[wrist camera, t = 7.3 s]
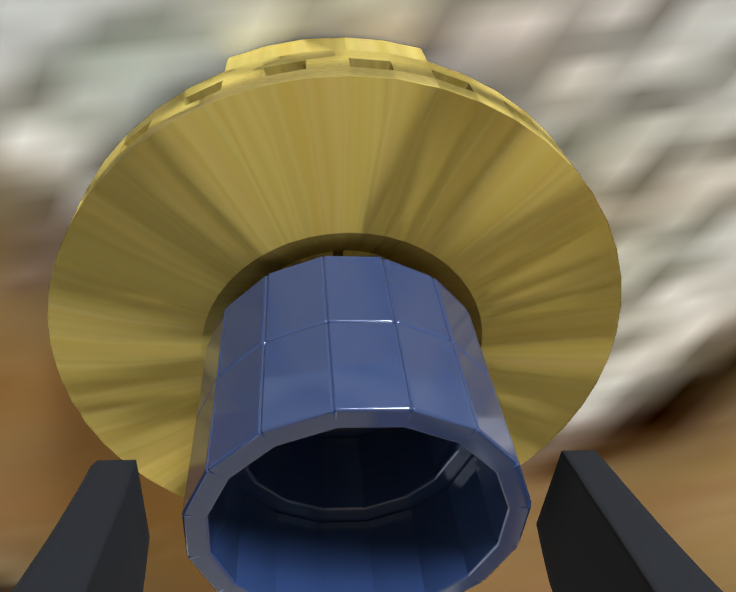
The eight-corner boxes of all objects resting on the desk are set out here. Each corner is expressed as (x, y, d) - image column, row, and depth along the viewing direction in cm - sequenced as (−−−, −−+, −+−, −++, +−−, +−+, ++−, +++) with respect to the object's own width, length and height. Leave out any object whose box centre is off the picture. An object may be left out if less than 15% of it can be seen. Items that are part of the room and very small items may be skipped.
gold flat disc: (683, 261, 17) (728, 315, 16) (359, 513, 22) (365, 577, 20) (299, -112, 12) (301, -93, 10) (-22, 327, 17) (-58, 392, 15)
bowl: (216, 444, 16) (195, 631, 13) (201, 238, 13) (168, 411, 10) (451, 440, 17) (495, 617, 13) (493, 243, 14) (565, 407, 10)
